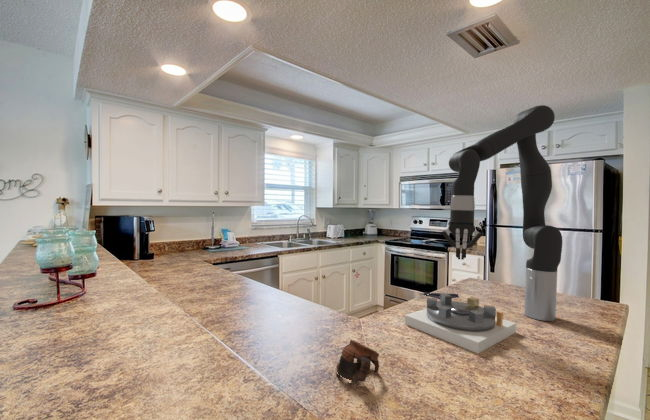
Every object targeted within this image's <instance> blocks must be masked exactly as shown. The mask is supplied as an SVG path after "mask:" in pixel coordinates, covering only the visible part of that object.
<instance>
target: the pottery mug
mask: <svg viewBox="0 0 650 420" xmlns="http://www.w3.org/2000/svg"><path fill="white" fill-rule="evenodd" d="M379 356H380V353H378V352H377V351H376V350H374V349H372V348H370V347H368V346H365V345H364V344H362V343H360V342H358V341H355V340H352V339H350V340H349V344H347V345H345V346H344V348H342V351H341V355H340V358H339V362H337V364H336V371H337V372H338V374H339V375H341V376H342V377H344V378H346V379H349V380H352V381H353V379H354V378H355V380H356V381H357V382H358V381H362V382H365V381H366V378H367V376H368V375H369V372H370V369H371V363H372V364H373V365H374V370H375V371H374V373H375V372H377V373H379V370H380V369H379V368H380V364H379V362H380V361H379ZM355 359H356V362H355ZM377 373H376V374H377Z"/></svg>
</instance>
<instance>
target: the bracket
mask: <svg viewBox="0 0 650 420" xmlns="http://www.w3.org/2000/svg"><path fill="white" fill-rule="evenodd" d="M430 293H431V294H430ZM422 294H423V295H426V296H425V297H429V298H435V299H437V300H438V299H439V300H441V294H446V293H442V292H441V293H440V292H423V293H422ZM427 294H429V295H427ZM448 294H449V295H450V296H452V299H454V298H459V294H458V293H448Z"/></svg>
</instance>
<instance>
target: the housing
mask: <svg viewBox="0 0 650 420" xmlns="http://www.w3.org/2000/svg"><path fill="white" fill-rule="evenodd" d="M404 316H405V317H404V325H407V326H408V327H411V328H413V329H416V330H418V331H421V332H423V333H426V334H428V335H431V336H433V337H435V338H437V339H440V340H442V341H446V342H448V343H450V344H453V345H456V346H458V347H461V348H462V349H465V350H468V351H470V352H473V353H475V354H480V353H482V352H484V351H486V350H487V349H489V348H490V347H492V346H493V347H494V345H497V344H498V343H499V342H500V343H501V341H504V340H505V339H507V338H509V337H511V336H513V335H514V334H516V333H517V323H516V322H514V321H510V320H507V319H503V318H504V317H503V316H504V312H503V311H497V312H496V317H495V327H494V328H492V329H490V330H487V331H464V330H458V329H453V328H449V327H445V326H442V325H440V324H437V323H435V322H433V321H432V320H430V319H429V318H428V317H427V307H426V308H423V309H420V310H418V311H414V312H411V313H408V314H405V315H404Z"/></svg>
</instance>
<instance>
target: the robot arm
mask: <svg viewBox="0 0 650 420" xmlns="http://www.w3.org/2000/svg"><path fill="white" fill-rule="evenodd" d="M555 117H556V116H555V113H554V110H553V109H552V108H551V107H549V105H543V104H542V105H541V104H540V105H536V106H532V107H530V108H529V109H525V110H523V111H521V112H519V113H518V114H517V115H516V116H515V118H514V121H513V124H511V125H508V126H506V127H504V128H502V129H499V130H498V131H497V130H496V131H495V132H493V133H490V134H489V135H486V136H484V138H481V139H479V140H478V141H477V142H475V143H474V144H472V145H470V146H467V147H465V148H462V149H461V150H458V151H456V152H454V153H453V154H452V155H451V156H450V157H449V161H448V166H449V168H450V169H451V170H452V171H453V172H456V173H458V176H457V177H456V178H455V179H454V180H453V181H452V183H451V198H450V207H449V209H450V213H449V214H450V217H449V225H448V228H447V229H445V230H443V231H442V232H441V234H442V235H443V237H444V238H445V240H446V241H447V242H448V244H449V245H450V246H451V247H454V248H455V257H456V258H457V260H462V261H464V259H466V258H467V249H469V248H473V246H474V245H475V244H476V243H477V242H478V241H479V240H480V239H481V237H482V236H483V235H482V233H481V232H479V231H478V230H477V229H476V227H475V210H476V209H475V208H476V206H475V205H476V203H475V183H476V180H477V177H478V174H479V171H480V170H479V169H480V165H481V162H483V161H486V160H489V159H490V158H492V157H494V156H496V155H498V154H499V153H500V152H502V151H504V150H505V149H507V148H509V147H511V146H513V145H514V144H516V146H517V150H518V160H519V161H518V162H519V169H520V186H521V193H522V194H521V197H522V199H521V200H522V211H523V216H522V217H523V218H522V240H523V242H524V244H525V245H526V246H527V247H529V248H531V249H533V255H532V257H531V258H529V259H527V260H526V262H525V264H526V265H525V290H524V312H523V313H524V316H527V317H528V318H531V319H534V320H538V321H546V322H553V321H555V320H556V318H557V317H556V313H557V312H556V311H557V294H558V293H557V292H558V291H557V288H558V268H559V265H560V263H561V259H562V251H563V235H562V232H561V231H560V229H558V228H557V227H556V226H553V225H549V224H547V225H546V220H545V219H546V217H545V216H546V215H545V211H546V205H547V203H548V201H549V198H550V196H551V192H552V191H553V190H552V188H553V180H552V170H551V169H552V168H551V167H550V165H549V163H548V161H547V160H546V159H545V158H544V156H543V155H542V154H541V152H540V151H539V148H538V145H537V134H539V133H542V132H545V131H547V130H548V129H550V128H551V127H552V126H553V124H554V122H555ZM450 233H451V235H452V237H454V238H455V242H454V241H453V239H452V238H451V237H450ZM472 234H473V237H472V239H471V240H470V241H469V242H468V239H469V238H470V237H471V236H472ZM460 239H462V247H461V244H460V243H461V240H460Z"/></svg>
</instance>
